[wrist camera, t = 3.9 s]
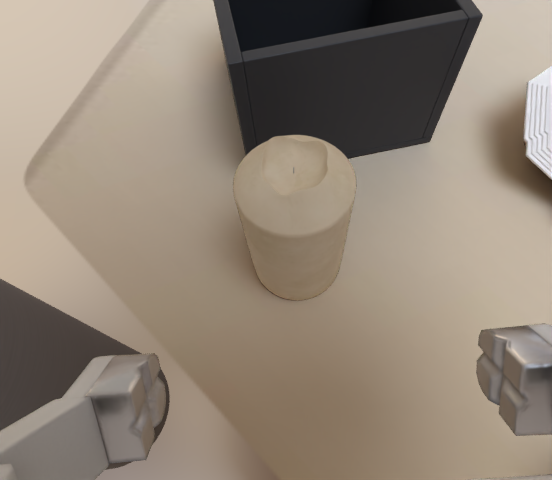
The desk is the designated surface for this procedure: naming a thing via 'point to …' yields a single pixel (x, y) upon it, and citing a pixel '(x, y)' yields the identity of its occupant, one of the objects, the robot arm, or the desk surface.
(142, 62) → the desk surface
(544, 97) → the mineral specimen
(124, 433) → the robot arm
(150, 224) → the desk surface
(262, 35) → the dark open square box
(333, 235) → the candle
